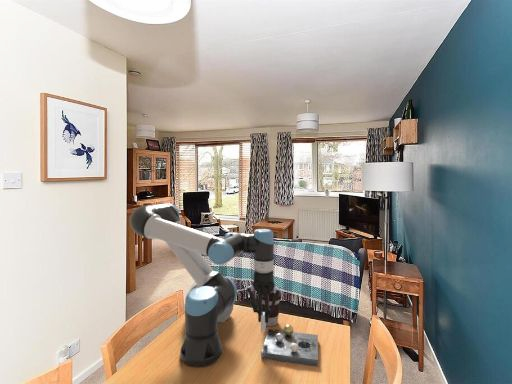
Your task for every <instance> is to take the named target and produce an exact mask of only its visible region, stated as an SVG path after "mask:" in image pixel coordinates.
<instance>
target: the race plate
mask: <svg viewBox="0 0 512 384" xmlns="http://www.w3.org/2000/svg"><path fill="white" fill-rule="evenodd" d="M277 333H281V334H282V335H283V341H282V342H277V341H276V340H275V335H276V334H277ZM318 337H319V335H318V334H312V333H311V334H310V333H303V332H295V331H293V334H292V335H290V336H288V335H286V334H285V333H284V331H283V330H279V329H273V328H272V329H271V328H268V329H267V332H266V336H265V339H264V342H263V345H262V349H261V352H260V359H261V360H265V361H266V360H269V361H274V362H279V363H280V362H282V363H288V364H296V365H303V366H309V367H316V368H318V367H319V365H318V364H319V362H318V361H319V344H318V343H319V342H318V341H319V338H318ZM292 343H296V344H297V345H298V350H297V352H292V351H291V350H290V345H291V344H292Z"/></svg>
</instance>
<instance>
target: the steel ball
mask: <svg viewBox="0 0 512 384" xmlns="http://www.w3.org/2000/svg"><path fill="white" fill-rule="evenodd" d="M275 340H276V341H277V342H282V341H283V335H282V334H281V333H277V334H276V335H275Z"/></svg>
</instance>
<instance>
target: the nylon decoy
mask: <svg viewBox="0 0 512 384" xmlns="http://www.w3.org/2000/svg"><path fill="white" fill-rule="evenodd" d="M290 350H291V351H292V352H297V350H298V345H297V344H296V343H292V344H291V345H290Z"/></svg>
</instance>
